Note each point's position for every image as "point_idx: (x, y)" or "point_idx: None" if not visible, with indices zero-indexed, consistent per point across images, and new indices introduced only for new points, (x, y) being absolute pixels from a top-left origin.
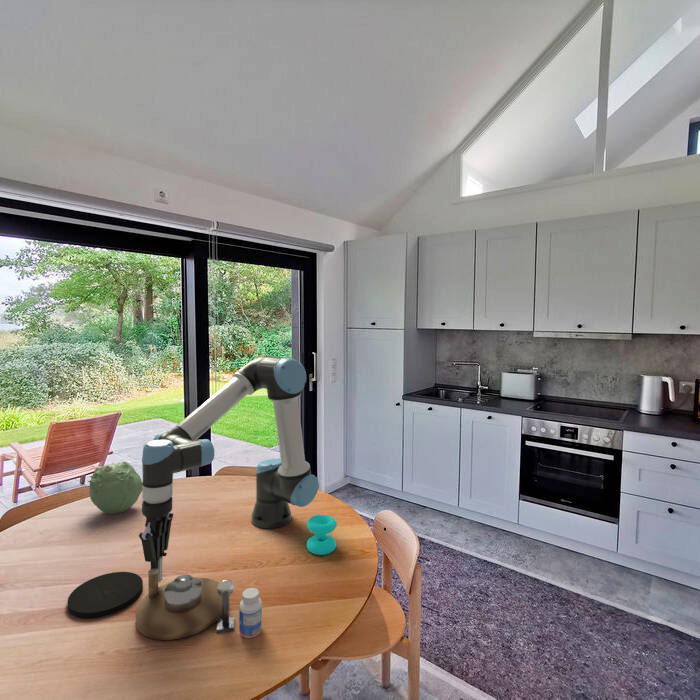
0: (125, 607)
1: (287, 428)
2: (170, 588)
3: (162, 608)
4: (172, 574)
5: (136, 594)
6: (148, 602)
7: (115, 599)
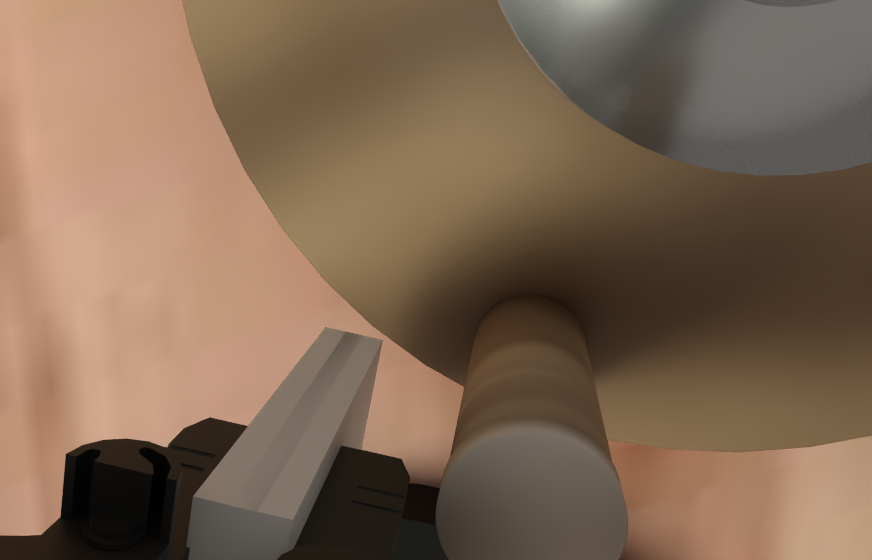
0: None
1: None
2: (819, 73)
3: None
4: (28, 273)
5: None
6: (678, 358)
7: None
